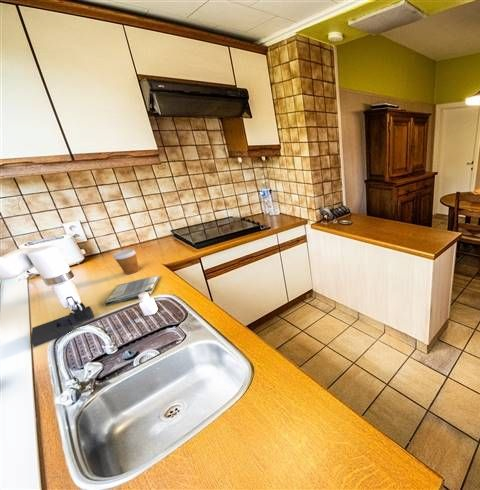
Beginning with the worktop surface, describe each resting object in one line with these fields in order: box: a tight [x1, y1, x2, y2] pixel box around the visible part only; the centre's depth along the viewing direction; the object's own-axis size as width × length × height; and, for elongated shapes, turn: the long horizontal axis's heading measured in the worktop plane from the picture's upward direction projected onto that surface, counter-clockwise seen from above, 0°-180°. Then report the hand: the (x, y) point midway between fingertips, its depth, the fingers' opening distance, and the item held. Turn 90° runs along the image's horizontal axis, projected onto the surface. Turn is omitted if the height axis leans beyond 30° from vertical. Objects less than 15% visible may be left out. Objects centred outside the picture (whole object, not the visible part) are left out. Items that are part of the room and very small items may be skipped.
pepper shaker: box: [138, 292, 159, 317], centre depth 110 cm, size 4×4×10 cm
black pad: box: [58, 305, 95, 326], centre depth 106 cm, size 6×9×3 cm, turn 138°
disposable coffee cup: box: [112, 248, 140, 275], centre depth 146 cm, size 10×10×12 cm
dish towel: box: [103, 275, 160, 307], centre depth 128 cm, size 19×18×3 cm
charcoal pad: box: [30, 316, 74, 348], centre depth 102 cm, size 12×10×3 cm
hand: (82, 315), depth 107 cm, fingers closed on black pad, 6 cm apart
